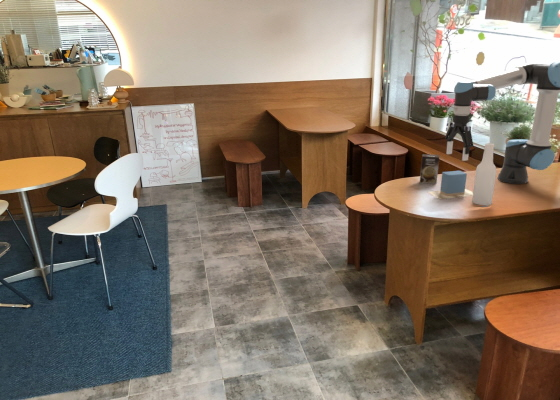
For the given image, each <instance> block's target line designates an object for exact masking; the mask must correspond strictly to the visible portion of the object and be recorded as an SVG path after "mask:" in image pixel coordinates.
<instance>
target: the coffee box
mask: <svg viewBox="0 0 560 400" xmlns="http://www.w3.org/2000/svg"><path fill="white" fill-rule="evenodd" d="M421 156H422V157H421V164H420V165H421V166H420V177H419V184H437V183H438V173H439V165H440V163H439V162H440V155H439V154H430V153H429V154H427V153H425V154H424V153H423V154H422V155H421Z"/></svg>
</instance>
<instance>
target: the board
mask: <svg viewBox="0 0 560 400" xmlns="http://www.w3.org/2000/svg"><path fill="white" fill-rule="evenodd" d="M427 193H428V194H430V195H431V196H433V197H435V198H437V199H438V200H444V199H446V200H447V199H453V198H454V199H456V198H466V197H473V191H472V190H469V189H468V188H466V187H465V193H464V194H463V195H454V196H445V195H444V194H442V193H440V190H431V191H427Z"/></svg>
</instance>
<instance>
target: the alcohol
mask: <svg viewBox="0 0 560 400" xmlns="http://www.w3.org/2000/svg"><path fill="white" fill-rule="evenodd" d="M494 148H495V143H493V142H492V143H491V142H486V143H485V144H484V150H483V155H482V160H481V162H480V163H479V164H477V166H476V169H475V174H474V175H475V176H474V183H473V184H474V185H473V191H472V192H473V196H472V199H471V200H472V201H471V202H472V203H473V204H475V205H479V206H478V207H479V208H489V207H490V206H491V205H492V203H493V197H494V190H495V183H496V177H497V167H496V165H495V164H494Z"/></svg>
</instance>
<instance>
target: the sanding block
mask: <svg viewBox="0 0 560 400" xmlns="http://www.w3.org/2000/svg"><path fill="white" fill-rule="evenodd" d="M467 175H468V174H467V172H464V171H462V170H453V171H442V172H441V180H440V181H441V183H440V190H439V191H440V193H442V194H444V195H445V196H454V195H463V194H464V193H465V188H466V184H467Z"/></svg>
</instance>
